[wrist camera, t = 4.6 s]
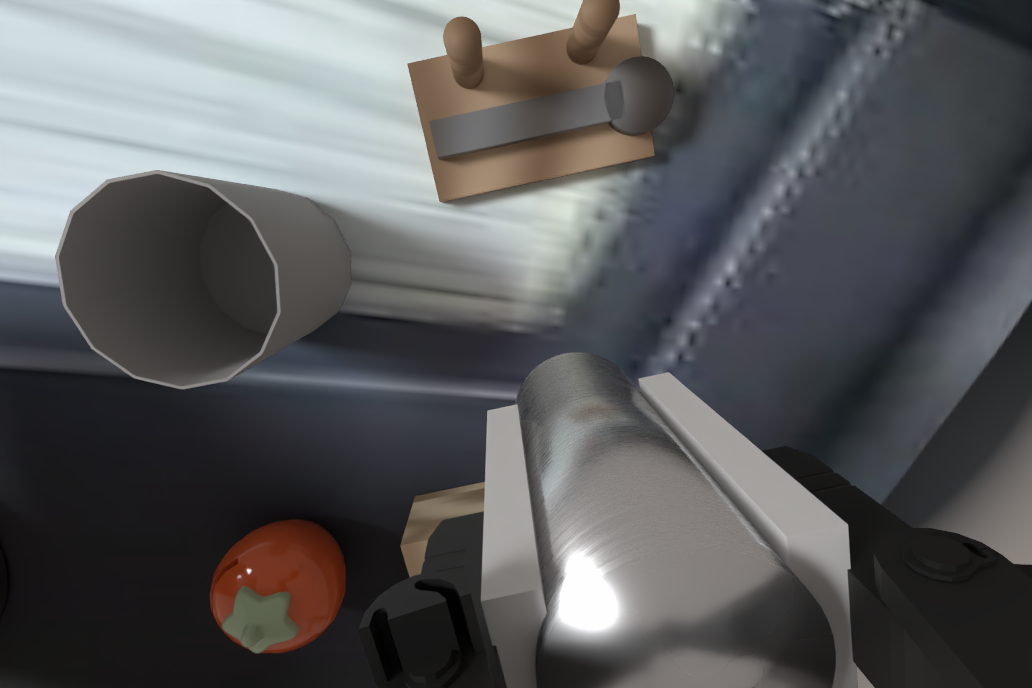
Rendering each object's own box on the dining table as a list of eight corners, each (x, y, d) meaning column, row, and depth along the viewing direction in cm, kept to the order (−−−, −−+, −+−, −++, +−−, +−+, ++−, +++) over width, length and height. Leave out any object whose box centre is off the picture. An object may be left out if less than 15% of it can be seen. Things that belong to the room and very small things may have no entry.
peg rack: (441, 202, 29) (427, 196, 23) (410, 69, 27) (386, 26, 21) (668, 153, 29) (712, 135, 23) (650, 17, 27) (693, -40, 21)
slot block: (464, 669, 36) (458, 742, 31) (415, 496, 33) (400, 545, 28) (657, 630, 36) (683, 697, 31) (627, 452, 33) (650, 493, 28)
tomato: (272, 478, 32) (201, 558, 25) (379, 525, 33) (344, 617, 26) (229, 568, 34) (148, 671, 26) (333, 612, 35) (286, 723, 27)
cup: (365, 213, 29) (298, 208, 19) (337, 350, 31) (264, 408, 21) (213, 172, 28) (63, 144, 18) (194, 314, 30) (47, 358, 20)
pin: (527, 479, 15) (566, 822, 7) (502, 366, 14) (508, 584, 6) (645, 455, 15) (844, 767, 6) (627, 340, 14) (826, 520, 6)
